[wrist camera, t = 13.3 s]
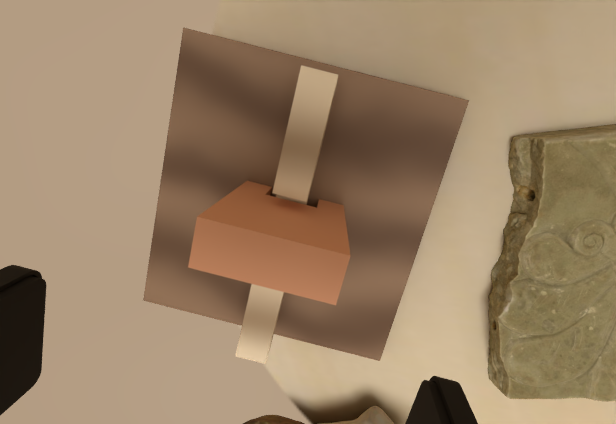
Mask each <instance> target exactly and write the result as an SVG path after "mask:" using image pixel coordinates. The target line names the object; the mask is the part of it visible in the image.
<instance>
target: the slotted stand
mask: <svg viewBox="0 0 616 424" xmlns="http://www.w3.org/2000/svg"><path fill="white" fill-rule="evenodd" d="M468 102H469V100H465V99H461V98H457V97H453V96H449V95H445V94H441V93H437V92H434V91H430V90H426V89H422V88H418V87H414V86H410V85H406V84H402V83H398V82H394V81H390V80H386V79H383V78H379V77H375V76H371V75H367V74H363V73H359V72H355V71H351V70H347V69H343V68H339V67H336V66H332V65H328V64H324V63H320V62H316V61H312V60H308V59H304V58H300V57H296V56H292V55H289V54H285V53H281V52H277V51H273V50H269V49H265V48H261V47H257V46H253V45H249V44H245V43H242V42H238V41H234V40H230V39H226V38H222V37H218V36H214V35H210V34H206V33H202V32H198V31H195V30H190V29H186V28H183V34H182V41H181V48H180V54H179V62H178V68H177V75H176V82H175V88H174V95H173V102H172V109H171V117H170V122H169V130H168V136H167V143H166V150H165V156H164V163H163V170H162V177H161V184H160V191H159V197H158V204H157V211H156V218H155V224H154V232H153V238H152V245H151V252H150V259H149V266H148V272H147V279H146V286H145V292H144V301H148V302H152V303H156V304H160V305H164V306H167V307H171V308H175V309H179V310H183V311H187V312H191V313H195V314H199V315H203V316H207V317H211V318H214V319H218V320H222V321H226V322H230V323H234V324H238V325H242V329H241V333H240V337H239V342H238V346H237V351H236V355H235V356H236V357H240V358H244V359H248V360H252V361H256V362H260V363H264V364H266V360H267V356H268V353H269V349H270V345H271V342H272V338H273V334H277V335H281V336H285V337H288V338H292V339H296V340H300V341H304V342H308V343H312V344H316V345H320V346H324V347H327V348H331V349H335V350H339V351H343V352H347V353H351V354H355V355H359V356H363V357H367V358H370V359H374V360H378V361H380V358H381V356H382V353H383V350H384V347H385V344H386V341H387V338H388V335H389V332H390V329H391V326H392V323H393V321H394V318H395V315H396V312H397V309H398V306H399V303H400V300H401V297H402V294H403V291H404V289H405V286H406V283H407V280H408V277H409V274H410V271H411V268H412V265H413V262H414V259H415V256H416V254H417V251H418V248H419V245H420V242H421V239H422V236H423V233H424V230H425V227H426V224H427V221H428V219H429V216H430V213H431V210H432V207H433V204H434V201H435V198H436V195H437V192H438V189H439V187H440V184H441V181H442V178H443V175H444V172H445V169H446V166H447V163H448V160H449V157H450V154H451V152H452V149H453V146H454V143H455V140H456V137H457V134H458V131H459V128H460V125H461V122H462V120H463V117H464V114H465V111H466V108H467V105H468ZM246 181H250V182H254V183H258V184H262V185H266V186H270V187H272V189H271V194H270V196H273V197H277V198H281V199H285V200H289V201H293V202H297V203H301V204H305V205H308V206H312V207H316V208H317V204H318V200H319V199H321V200H325V201H329V202H333V203H337V204H340V205H344V212H345V219H346V226H347V233H348V241H349V248H350V255H351V256H350V259H349V263H348V266H347V270H346V273H345V276H344V280H343V283H342V287H341V290H340V293H339V297H338V300H337V303H336V305H332V304H328V303H325V302H321V301H317V300H313V299H309V298H305V297H301V296H297V295H293V294H289V293H285V292H282V291H278V290H274V289H270V288H266V287H262V286H258V285H254V284H250V283H246V282H243V281H239V280H235V279H231V278H227V277H223V276H219V275H215V274H211V273H207V272H203V271H200V270H196V269H192V268H188V265H189V259H190V254H191V248H192V242H193V237H194V231H195V225H196V220H197V216H199V215H200V214H201V213H203V212H204V211H205V210H207V209H208V208H210V207H211V206H212V205H214V204H215V203H217V202H218V201H219V200H221V199H222V198H224V197H225V196H226V195H228V194H229V193H231V192H232V191H233V190H235V189H236V188H238V187H239V186H240V185H242V184H243V183H245V182H246Z"/></svg>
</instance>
